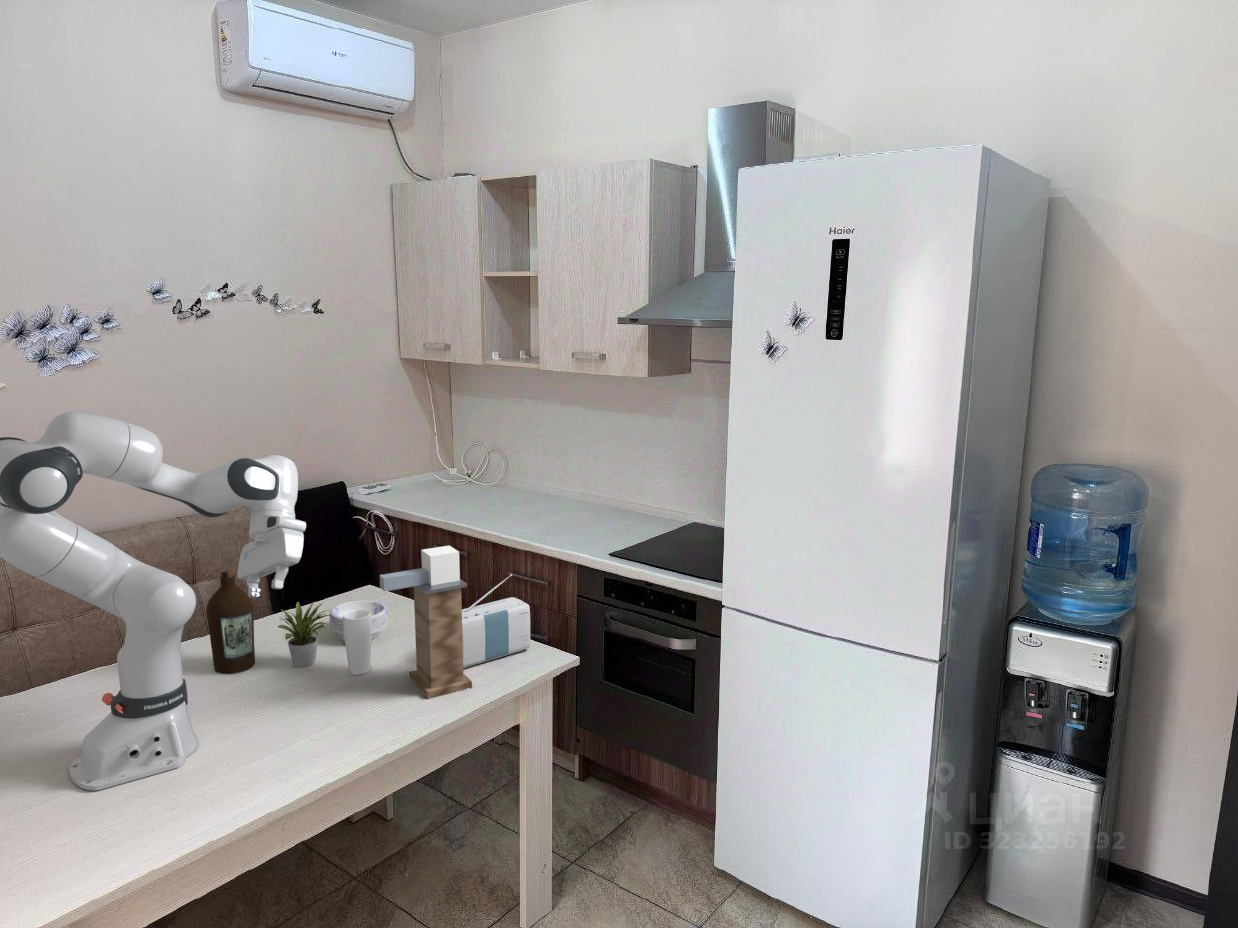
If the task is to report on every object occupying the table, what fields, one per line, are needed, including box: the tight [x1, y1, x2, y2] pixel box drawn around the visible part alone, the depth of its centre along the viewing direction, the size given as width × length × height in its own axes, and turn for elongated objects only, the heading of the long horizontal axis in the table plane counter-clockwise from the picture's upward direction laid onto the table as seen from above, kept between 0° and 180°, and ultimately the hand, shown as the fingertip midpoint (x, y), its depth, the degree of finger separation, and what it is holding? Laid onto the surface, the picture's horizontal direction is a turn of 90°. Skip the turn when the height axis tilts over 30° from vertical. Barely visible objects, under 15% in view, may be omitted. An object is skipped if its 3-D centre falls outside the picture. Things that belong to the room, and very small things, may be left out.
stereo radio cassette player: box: [462, 573, 531, 670], centre depth 217 cm, size 21×8×20 cm, turn 129°
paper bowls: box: [328, 599, 389, 642], centre depth 231 cm, size 15×15×8 cm
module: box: [379, 544, 461, 592], centre depth 196 cm, size 18×6×7 cm, turn 123°
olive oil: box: [206, 568, 256, 675], centre depth 209 cm, size 11×11×25 cm
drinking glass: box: [343, 610, 373, 676], centre depth 208 cm, size 7×7×15 cm
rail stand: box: [408, 578, 473, 700], centre depth 201 cm, size 11×13×26 cm
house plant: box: [277, 601, 334, 669], centre depth 211 cm, size 14×14×16 cm
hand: (265, 593), depth 175 cm, fingers open, 8 cm apart
